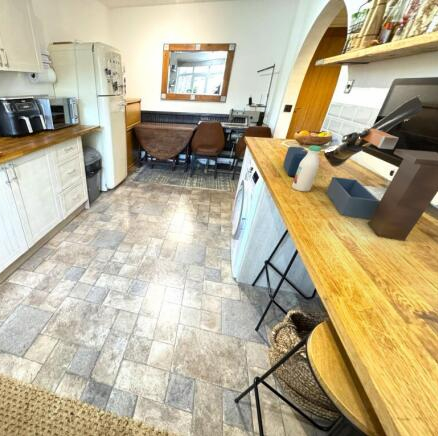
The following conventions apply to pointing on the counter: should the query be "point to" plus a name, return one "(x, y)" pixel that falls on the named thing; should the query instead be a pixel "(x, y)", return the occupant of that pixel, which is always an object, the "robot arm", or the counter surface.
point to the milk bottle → (307, 170)
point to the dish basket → (352, 198)
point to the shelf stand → (406, 195)
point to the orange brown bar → (381, 139)
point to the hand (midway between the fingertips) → (375, 132)
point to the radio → (294, 159)
